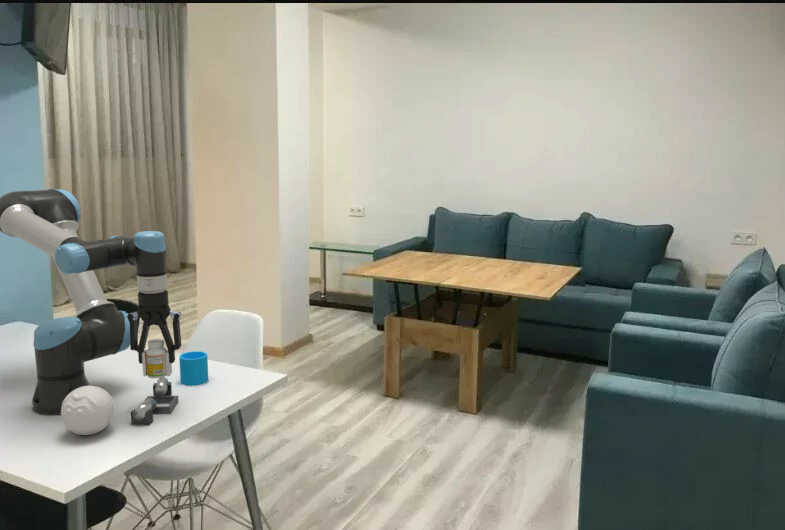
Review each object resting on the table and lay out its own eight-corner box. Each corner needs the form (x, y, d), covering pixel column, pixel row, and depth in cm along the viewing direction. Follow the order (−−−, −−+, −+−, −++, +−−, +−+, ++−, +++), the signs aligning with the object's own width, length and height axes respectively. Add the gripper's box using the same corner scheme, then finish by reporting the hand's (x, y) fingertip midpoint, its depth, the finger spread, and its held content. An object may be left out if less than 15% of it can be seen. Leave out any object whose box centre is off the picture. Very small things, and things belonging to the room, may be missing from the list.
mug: (210, 383, 203) (209, 357, 202) (182, 387, 200) (181, 361, 198) (204, 371, 214) (203, 346, 212) (177, 374, 210) (176, 349, 209)
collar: (139, 414, 180) (139, 407, 179) (148, 402, 188) (148, 396, 187) (170, 414, 180) (170, 407, 180) (178, 402, 188) (178, 395, 188)
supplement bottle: (157, 371, 186) (155, 336, 184) (172, 373, 183) (170, 339, 182) (142, 377, 181) (140, 342, 179) (158, 380, 179) (156, 344, 177)
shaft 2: (170, 401, 189) (169, 385, 188) (151, 402, 188) (150, 386, 187) (172, 392, 195) (171, 376, 195) (154, 393, 194) (153, 377, 193)
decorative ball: (52, 441, 163) (48, 394, 161) (81, 421, 175) (77, 377, 173) (98, 444, 162) (94, 397, 160) (124, 424, 173) (121, 380, 171)
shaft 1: (143, 414, 180) (142, 397, 179) (160, 415, 179) (159, 398, 178) (130, 425, 173) (129, 407, 172) (148, 426, 172) (147, 408, 171)
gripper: (112, 293, 174) (118, 379, 178) (185, 293, 175) (189, 378, 179) (121, 287, 181) (127, 370, 185) (191, 287, 182) (195, 369, 186)
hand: (157, 374), depth 182 cm, fingers closed on supplement bottle, 5 cm apart
